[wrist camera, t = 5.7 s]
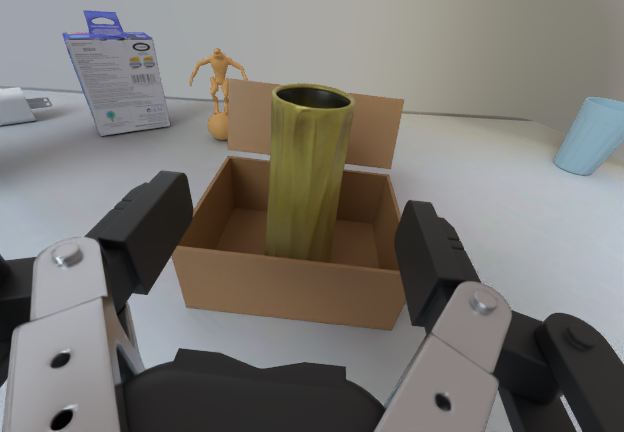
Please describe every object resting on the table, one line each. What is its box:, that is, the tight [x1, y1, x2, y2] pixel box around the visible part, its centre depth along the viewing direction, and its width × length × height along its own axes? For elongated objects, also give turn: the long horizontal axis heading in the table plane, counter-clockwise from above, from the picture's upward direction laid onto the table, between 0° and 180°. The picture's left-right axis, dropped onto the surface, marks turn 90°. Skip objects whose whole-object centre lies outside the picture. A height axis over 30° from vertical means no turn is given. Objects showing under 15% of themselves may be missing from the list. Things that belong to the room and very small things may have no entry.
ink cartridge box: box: [63, 11, 170, 136], centre depth 41 cm, size 10×6×14 cm, turn 127°
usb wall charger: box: [0, 87, 52, 126], centre depth 42 cm, size 4×7×4 cm, turn 132°
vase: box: [264, 83, 355, 263], centre depth 22 cm, size 6×6×14 cm
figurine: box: [190, 48, 248, 140], centre depth 42 cm, size 8×6×12 cm
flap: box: [228, 79, 404, 169], centre depth 27 cm, size 16×6×1 cm
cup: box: [554, 97, 624, 175], centre depth 46 cm, size 8×8×10 cm
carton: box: [171, 156, 406, 330], centre depth 25 cm, size 16×13×6 cm
